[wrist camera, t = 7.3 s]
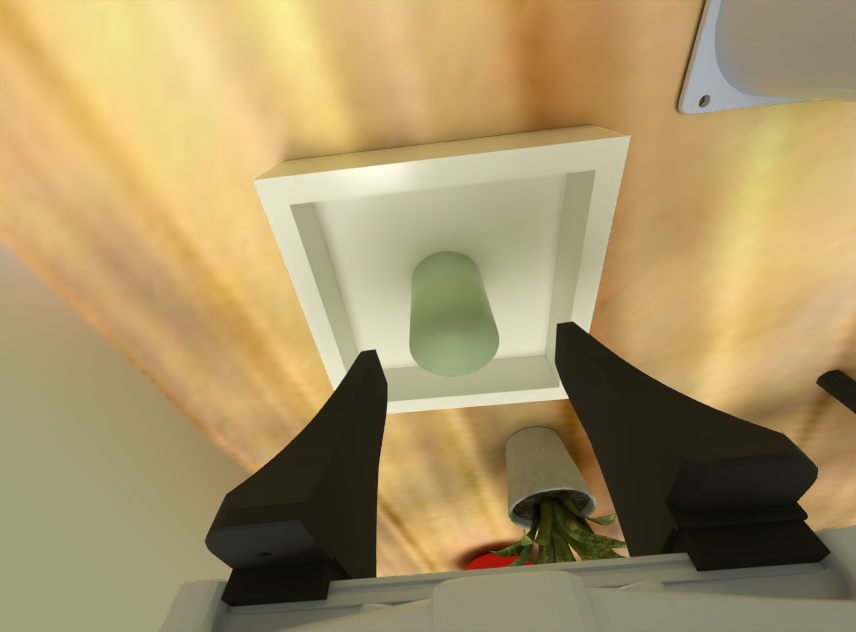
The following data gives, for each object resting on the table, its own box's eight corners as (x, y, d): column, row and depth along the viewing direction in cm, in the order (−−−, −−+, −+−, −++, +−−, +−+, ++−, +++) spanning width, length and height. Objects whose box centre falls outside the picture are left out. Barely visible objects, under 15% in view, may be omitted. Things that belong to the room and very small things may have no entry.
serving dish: (591, 124, 17) (631, 135, 14) (555, 358, 26) (575, 398, 23) (283, 161, 18) (252, 180, 15) (353, 376, 27) (344, 417, 24)
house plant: (482, 499, 39) (514, 721, 25) (424, 434, 32) (426, 695, 18) (609, 464, 35) (725, 702, 22) (576, 381, 28) (717, 660, 15)
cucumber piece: (475, 243, 20) (493, 298, 15) (485, 304, 22) (504, 368, 18) (403, 260, 21) (397, 318, 16) (421, 318, 23) (421, 383, 18)
